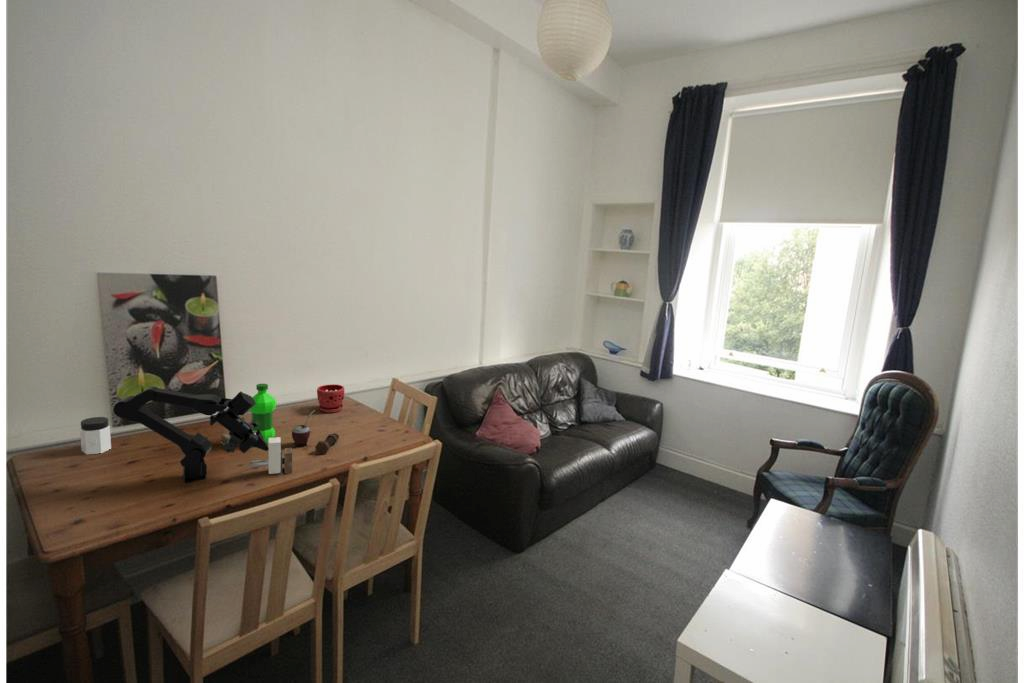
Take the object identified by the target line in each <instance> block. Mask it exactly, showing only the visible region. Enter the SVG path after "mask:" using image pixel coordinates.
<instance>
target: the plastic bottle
mask: <svg viewBox="0 0 1024 683" xmlns="http://www.w3.org/2000/svg"><path fill="white" fill-rule="evenodd" d="M255 389H256V390H257V393H256V394H255V395H253V396H251V397H252V398H253V399H254V400H255V403H256V404H255V405H254V406H253V407H252V408H251V409H250V410H249V411H250V412H251V421H252V420H256V421H257V422H259V423H260V424H259V426H256V427H255V428H254V430H253V431H256V432H257V431H258V430H259V429H260V431H261V433H262V435H263V438H264V440H265V442H266V444H269V438H275V436H276V430H275V428H274V422H273V421H274V420H273V419H274V417H273V416H274V414H273V413H274V410H276V408H277V401H276V399H275V397H273V396H272V395H271V394H269V393H268V391H267V390H269V384H268V383H258V384H256V388H255Z"/></svg>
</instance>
